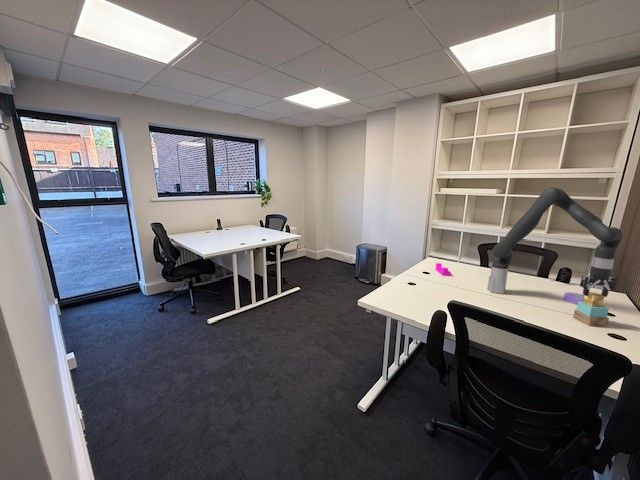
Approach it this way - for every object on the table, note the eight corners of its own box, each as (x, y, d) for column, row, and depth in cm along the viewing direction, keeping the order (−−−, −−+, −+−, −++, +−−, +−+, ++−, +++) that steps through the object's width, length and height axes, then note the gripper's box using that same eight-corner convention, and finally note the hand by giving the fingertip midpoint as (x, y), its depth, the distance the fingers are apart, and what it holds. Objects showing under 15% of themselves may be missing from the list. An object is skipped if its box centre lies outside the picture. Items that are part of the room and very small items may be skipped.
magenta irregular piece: (450, 277, 208) (451, 268, 207) (442, 277, 209) (443, 268, 207) (442, 271, 223) (443, 263, 222) (435, 271, 223) (436, 263, 222)
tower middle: (589, 316, 136) (591, 307, 135) (576, 309, 143) (578, 301, 142) (606, 317, 135) (608, 308, 134) (592, 310, 143) (594, 302, 142)
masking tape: (568, 303, 162) (570, 297, 162) (559, 296, 173) (560, 291, 172) (593, 306, 158) (594, 300, 158) (582, 299, 169) (583, 293, 168)
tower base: (588, 326, 136) (590, 317, 135) (573, 318, 145) (574, 309, 144) (606, 326, 135) (609, 318, 134) (590, 318, 144) (592, 310, 143)
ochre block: (591, 306, 136) (593, 295, 135) (583, 302, 141) (585, 291, 140) (602, 306, 136) (604, 296, 134) (593, 302, 140) (595, 292, 139)
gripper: (592, 267, 131) (585, 298, 134) (624, 269, 129) (616, 299, 133) (580, 263, 138) (573, 292, 142) (610, 264, 137) (603, 293, 140)
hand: (594, 295), depth 137 cm, fingers open, 8 cm apart
